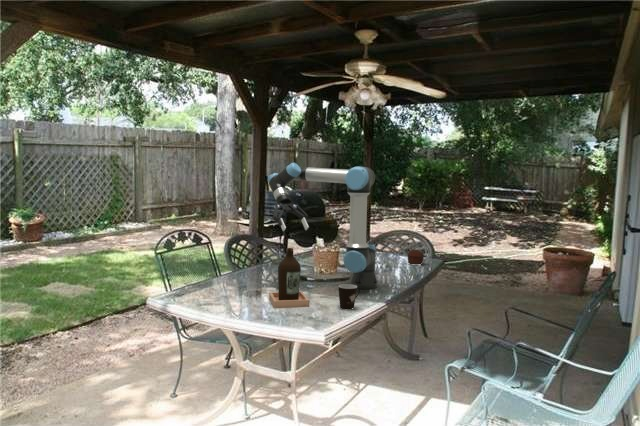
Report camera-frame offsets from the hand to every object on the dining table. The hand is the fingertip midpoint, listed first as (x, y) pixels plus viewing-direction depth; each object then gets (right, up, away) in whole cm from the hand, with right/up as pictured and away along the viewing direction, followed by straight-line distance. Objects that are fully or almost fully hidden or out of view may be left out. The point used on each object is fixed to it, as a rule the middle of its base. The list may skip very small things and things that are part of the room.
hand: (296, 229), depth 258 cm
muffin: (+77, -27, +84) cm, 117 cm away
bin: (-2, -34, -22) cm, 40 cm away
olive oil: (-3, -33, -22) cm, 40 cm away
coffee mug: (+26, -35, -27) cm, 52 cm away
